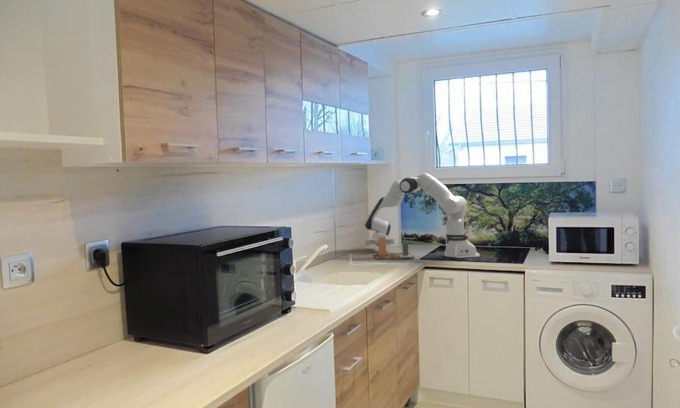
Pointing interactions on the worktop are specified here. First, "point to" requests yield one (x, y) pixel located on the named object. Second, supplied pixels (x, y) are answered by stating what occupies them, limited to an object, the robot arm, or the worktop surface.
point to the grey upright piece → (405, 251)
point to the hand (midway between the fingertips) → (380, 242)
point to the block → (382, 245)
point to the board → (391, 256)
